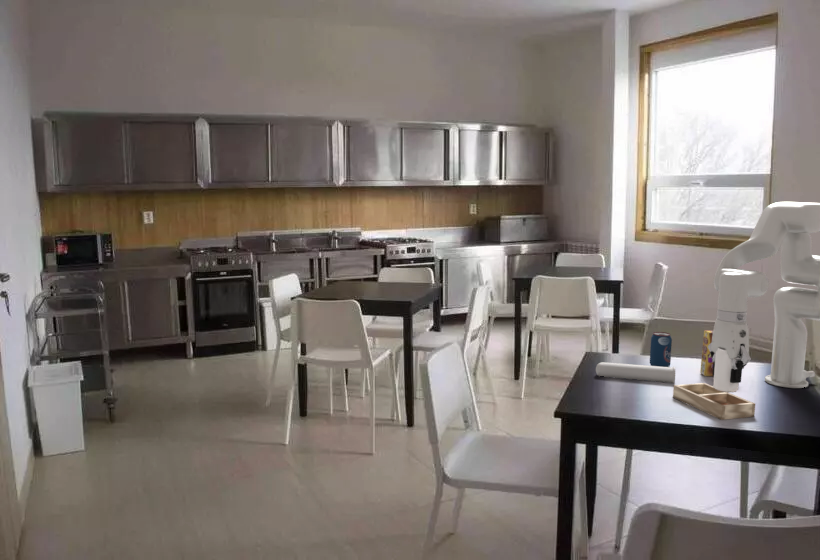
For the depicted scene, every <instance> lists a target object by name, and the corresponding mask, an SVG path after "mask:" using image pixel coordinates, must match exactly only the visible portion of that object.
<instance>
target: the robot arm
mask: <svg viewBox="0 0 820 560" xmlns="http://www.w3.org/2000/svg"><path fill="white" fill-rule="evenodd" d="M819 232H820V202H803V201H802V202H799V201H778V202H774V203H771V204H768V205H767V206H766V207H765V208H764V209H763V210H762V211H761V214H760V216H759V218H758V220H757V222H756V223H755V227H754V229H753V231H752V233H751V234H750V237H749V239H748V240H746V241H743V242H741V243H739V244H738V245H736V246H734V247H733V248H732V249H730V250H729V251H728V252H727V253H725V255H724V256H723V257H722V259H721V261H720V263H719V265H718V266H717V268H716V271H715V274H714V277H713V286H714V289H715V290H716V291H717V292H718V295H717V296H718V297H717V308H716V309H717V310H716V319H715V321H714V326H713V335H712V342H711V343H710V344H709V345H708V349H709V351H710V354H711V356H712V361H713V374H712V375H713V376H712V377H714V369H715V357H716V351H717V350H718V347H719V348H721V349H726V352H727V354H728V355H729V358H731V359H732V366H733V369H731V375H730V382H731V383H742V375H743V370H744V369H745V367H746V366H747V364H748V363H750V362H751V360H752V359H751V356H750V353H749V352H750V332H749V330H750V329H749V325H748V323H747V320H748V317H747V315H748V312H747V311H748V301H749V300H748V299H749V298H760V297H762V296H764V295H765V294H766V293H767V292H768V289H769V287H770V279H769V277H768V276H767V274H766V273H764V272H762V271H759V270H751V269H742V268H741V269H740V267H741V266H743V265H746V264H750V263H752V262H756V261H761V260H763V259H768V258H771V257H773V256H775V255H777V253H779V251H780V264H779V265H780V266H779V267H780V268H779V269H780V270H779V271H780V272H779V273H780V278H781V280H782V281H784V282H786V283H789V284H795V285H802V286H803V285H804V286H811V287H812V286H813V287H815V288H816V289H812V288H804V287H798V286H797V287H796V286H785V287H781V288H779V289H777V290H776V291H775V293H774V294H773V300H772V301H773V309H774V312H773V313H774V332H773V343H772V351H771V352H772V354H771V367H770V374H768V375H766V376H764V381H765V383H768V384H770V385H773V386H776V387H780V388H781V387H783V388H789V389H802V388H803V389H804V387H805V388H808V387H809V381H808V380H806V379H807V378H814V377H815V376H816V373H815V371H813V370H808V371H807V370H806V369H805V362H806V354H807V343H808V342H807V341H808V329H807V326H806V324H805V323H804V321H803V319H807V320H813V321H818V322H820V255H815V254H813V252H812V250H813V249H812V245H813V241H812V240H813V239H812V235H811V234H815V233H819ZM737 355H739V357H737ZM736 360H739V362H738V363H736Z"/></svg>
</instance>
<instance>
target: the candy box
mask: <svg viewBox="0 0 820 560" xmlns="http://www.w3.org/2000/svg"><path fill="white" fill-rule="evenodd" d="M712 335H713V330H709V329H704V331H703V338H702V339H703V340H702V350H701V358H700V359H701V361H700V373H699V374H701V375H702V376H705V377H714V376H713V375H712V374H713V361H712V356H711V354H710V351H709V349H708V345H709V344H710V343H711V342H712Z"/></svg>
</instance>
